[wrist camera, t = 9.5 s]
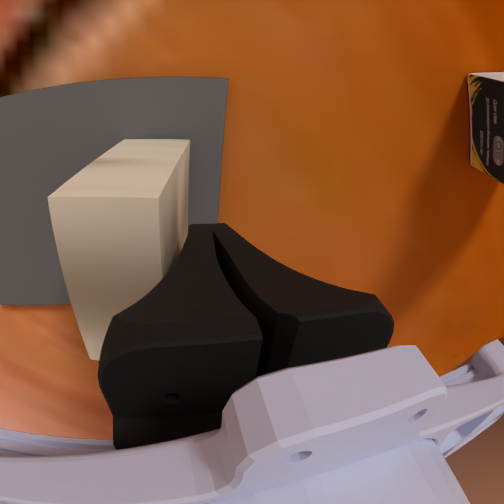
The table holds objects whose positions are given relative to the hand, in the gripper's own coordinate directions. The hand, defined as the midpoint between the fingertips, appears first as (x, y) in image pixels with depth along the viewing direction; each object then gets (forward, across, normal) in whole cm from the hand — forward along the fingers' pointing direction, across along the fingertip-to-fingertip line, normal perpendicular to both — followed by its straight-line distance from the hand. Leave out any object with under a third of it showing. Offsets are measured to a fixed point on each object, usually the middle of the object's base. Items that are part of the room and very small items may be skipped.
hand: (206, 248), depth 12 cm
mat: (+5, +6, 0) cm, 8 cm away
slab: (+4, +2, 0) cm, 5 cm away
